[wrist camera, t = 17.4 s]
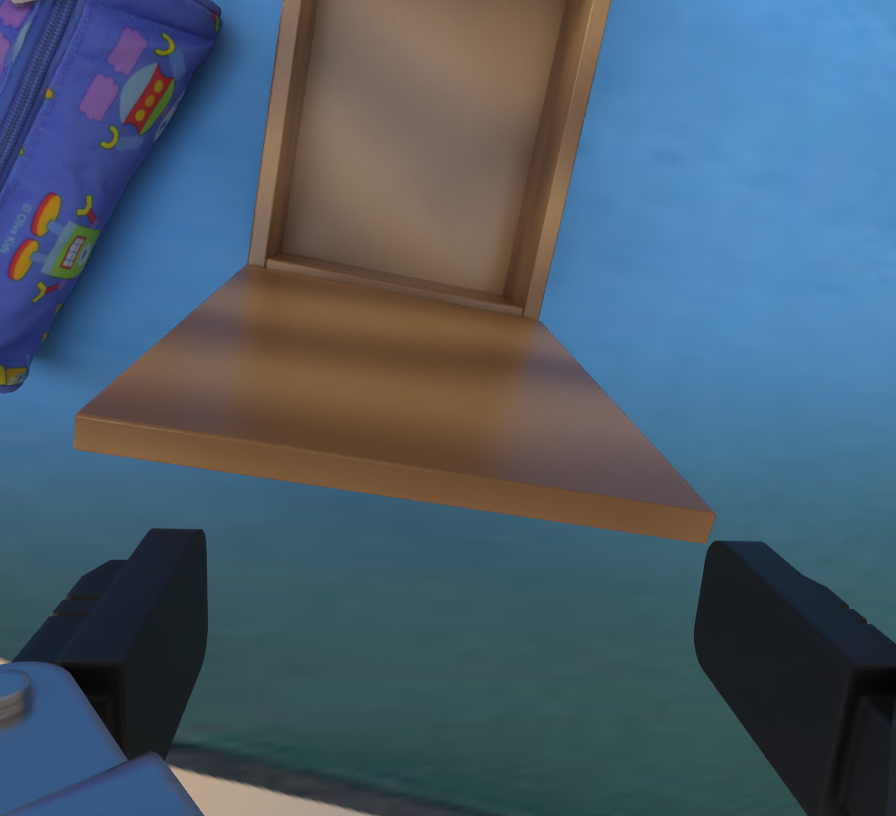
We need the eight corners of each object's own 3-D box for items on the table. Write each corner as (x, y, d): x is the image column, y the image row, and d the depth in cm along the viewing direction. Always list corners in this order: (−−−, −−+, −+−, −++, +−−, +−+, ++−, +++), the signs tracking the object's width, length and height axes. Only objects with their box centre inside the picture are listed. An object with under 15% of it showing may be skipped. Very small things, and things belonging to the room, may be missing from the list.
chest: (320, -125, 35) (309, -203, 29) (589, -52, 37) (636, -109, 31) (266, 263, 40) (245, 272, 33) (510, 309, 42) (536, 327, 35)
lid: (73, 413, 14) (71, 450, 15) (718, 514, 16) (706, 545, 17) (245, 264, 32) (243, 282, 33) (541, 320, 34) (536, 337, 35)
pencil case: (90, -100, 35) (-11, -214, 25) (254, 13, 37) (215, -55, 27) (-107, 300, 38) (-259, 327, 29) (52, 385, 40) (-43, 435, 31)
